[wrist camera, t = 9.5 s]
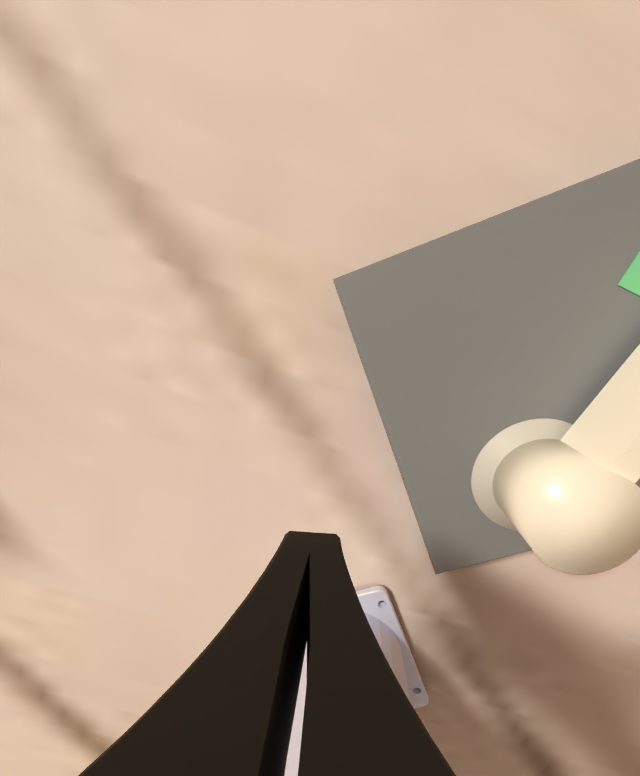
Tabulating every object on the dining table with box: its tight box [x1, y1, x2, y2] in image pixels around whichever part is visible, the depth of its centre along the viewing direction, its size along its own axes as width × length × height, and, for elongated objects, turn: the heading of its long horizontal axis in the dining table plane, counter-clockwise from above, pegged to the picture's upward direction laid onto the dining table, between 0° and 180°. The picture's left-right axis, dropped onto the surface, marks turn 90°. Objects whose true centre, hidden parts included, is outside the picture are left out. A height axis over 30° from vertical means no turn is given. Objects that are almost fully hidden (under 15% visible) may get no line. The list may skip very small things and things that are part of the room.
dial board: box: [333, 159, 640, 574], centre depth 16 cm, size 16×20×2 cm
